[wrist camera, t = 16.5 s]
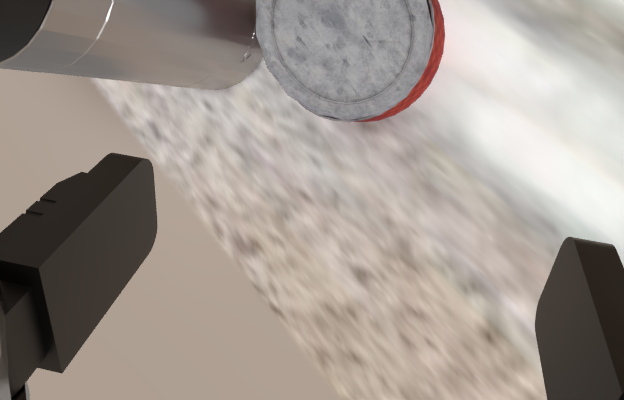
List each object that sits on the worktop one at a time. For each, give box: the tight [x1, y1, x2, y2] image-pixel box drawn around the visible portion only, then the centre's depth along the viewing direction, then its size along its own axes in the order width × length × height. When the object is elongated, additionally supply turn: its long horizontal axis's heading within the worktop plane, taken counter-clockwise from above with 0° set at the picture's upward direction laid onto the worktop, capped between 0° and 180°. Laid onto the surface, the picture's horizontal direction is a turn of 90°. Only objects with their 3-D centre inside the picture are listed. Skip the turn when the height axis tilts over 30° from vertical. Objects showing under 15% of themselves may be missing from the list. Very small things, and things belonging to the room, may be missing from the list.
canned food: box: [256, 0, 445, 122], centre depth 33 cm, size 11×10×10 cm
